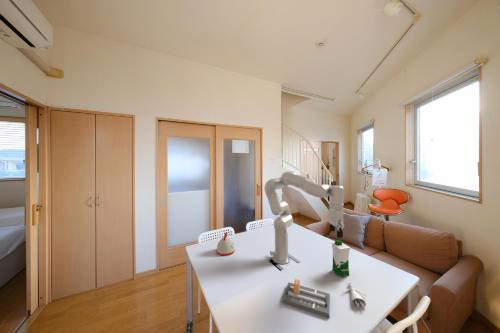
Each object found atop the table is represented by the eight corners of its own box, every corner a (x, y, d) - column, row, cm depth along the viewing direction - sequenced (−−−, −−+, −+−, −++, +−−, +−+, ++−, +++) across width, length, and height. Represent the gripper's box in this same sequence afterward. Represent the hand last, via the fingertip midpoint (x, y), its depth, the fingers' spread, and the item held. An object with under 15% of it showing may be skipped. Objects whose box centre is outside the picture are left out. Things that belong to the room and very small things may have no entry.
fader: (293, 294, 94) (293, 283, 94) (294, 289, 98) (294, 278, 98) (298, 296, 93) (298, 284, 93) (300, 291, 97) (300, 280, 97)
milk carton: (341, 268, 122) (341, 238, 121) (351, 276, 113) (352, 244, 113) (330, 270, 120) (330, 240, 119) (340, 278, 111) (340, 246, 110)
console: (282, 302, 92) (282, 296, 92) (288, 285, 105) (288, 280, 104) (329, 318, 83) (329, 311, 83) (329, 297, 95) (329, 291, 95)
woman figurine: (347, 299, 88) (338, 279, 106) (347, 309, 88) (338, 286, 105) (374, 303, 85) (360, 282, 103) (374, 313, 85) (361, 290, 103)
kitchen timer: (235, 248, 151) (235, 230, 151) (232, 256, 137) (232, 237, 137) (219, 247, 152) (219, 229, 152) (214, 255, 139) (214, 236, 138)
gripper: (324, 202, 118) (324, 228, 118) (336, 209, 100) (336, 240, 101) (336, 202, 117) (335, 228, 118) (350, 210, 100) (349, 240, 101)
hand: (335, 234), depth 109 cm, fingers open, 9 cm apart
